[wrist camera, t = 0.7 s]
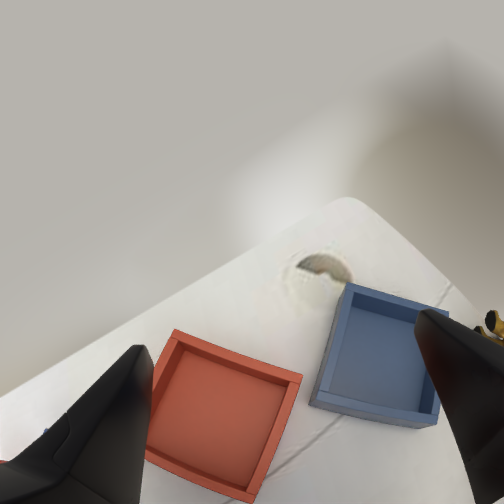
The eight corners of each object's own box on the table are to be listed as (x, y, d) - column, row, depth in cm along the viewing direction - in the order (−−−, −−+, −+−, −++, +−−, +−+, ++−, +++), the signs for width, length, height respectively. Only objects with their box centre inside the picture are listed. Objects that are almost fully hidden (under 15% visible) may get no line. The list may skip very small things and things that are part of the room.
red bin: (252, 497, 17) (252, 504, 15) (132, 444, 19) (116, 443, 17) (298, 383, 23) (303, 374, 21) (182, 341, 25) (174, 327, 23)
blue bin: (419, 428, 20) (437, 424, 17) (308, 405, 22) (315, 399, 19) (434, 325, 25) (449, 311, 23) (339, 298, 28) (347, 281, 25)
